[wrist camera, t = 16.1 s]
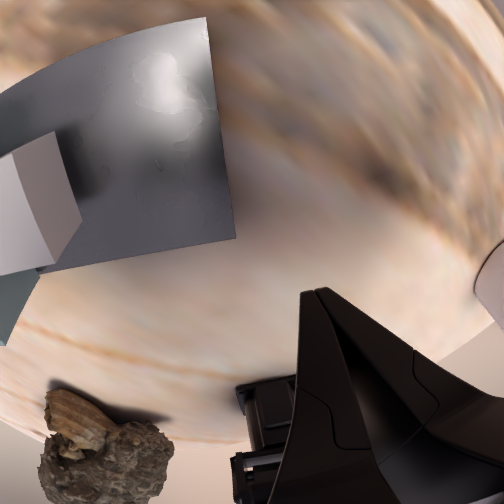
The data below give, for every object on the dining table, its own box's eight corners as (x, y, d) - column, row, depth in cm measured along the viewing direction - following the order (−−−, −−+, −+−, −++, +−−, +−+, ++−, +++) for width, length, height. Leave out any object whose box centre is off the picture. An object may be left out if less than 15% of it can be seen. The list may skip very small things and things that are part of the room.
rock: (135, 545, 17) (39, 550, 7) (78, 473, 26) (-7, 450, 15) (211, 461, 25) (114, 450, 14) (136, 393, 33) (50, 347, 22)
